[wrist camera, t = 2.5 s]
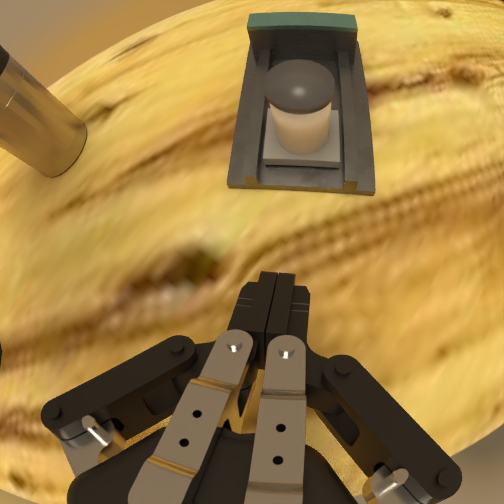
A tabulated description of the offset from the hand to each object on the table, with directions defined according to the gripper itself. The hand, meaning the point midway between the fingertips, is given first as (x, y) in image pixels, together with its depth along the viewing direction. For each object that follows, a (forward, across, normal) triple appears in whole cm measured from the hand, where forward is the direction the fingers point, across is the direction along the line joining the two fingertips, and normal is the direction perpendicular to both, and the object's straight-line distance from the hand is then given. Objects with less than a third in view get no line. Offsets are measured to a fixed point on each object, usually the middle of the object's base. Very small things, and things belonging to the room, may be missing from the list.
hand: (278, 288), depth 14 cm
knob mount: (+25, 0, -6) cm, 25 cm away
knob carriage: (+20, 0, -2) cm, 20 cm away
